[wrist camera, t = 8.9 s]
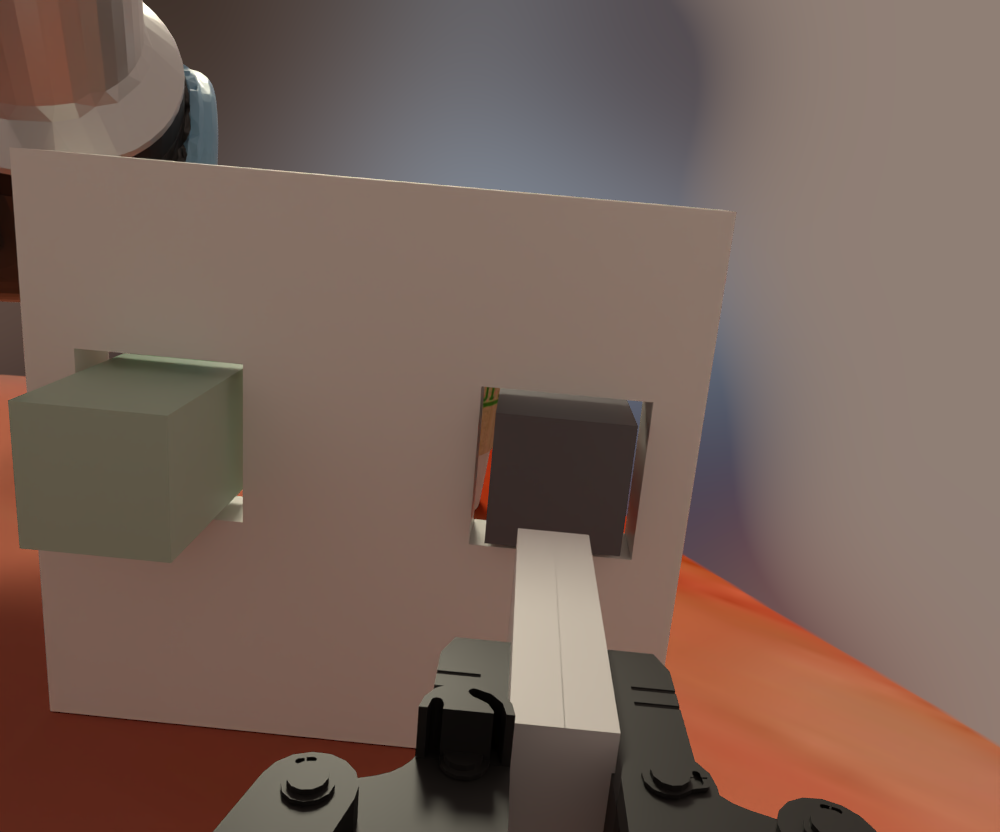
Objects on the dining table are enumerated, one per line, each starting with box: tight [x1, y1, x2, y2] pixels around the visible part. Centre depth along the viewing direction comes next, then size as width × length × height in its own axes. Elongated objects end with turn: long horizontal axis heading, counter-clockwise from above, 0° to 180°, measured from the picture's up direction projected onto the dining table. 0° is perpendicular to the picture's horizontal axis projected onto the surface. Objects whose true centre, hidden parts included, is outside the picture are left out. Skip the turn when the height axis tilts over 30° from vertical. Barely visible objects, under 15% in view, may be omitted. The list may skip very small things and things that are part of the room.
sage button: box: [8, 353, 243, 563], centre depth 24 cm, size 4×6×4 cm, turn 178°
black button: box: [484, 388, 638, 556], centre depth 27 cm, size 4×6×4 cm, turn 178°
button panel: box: [9, 147, 736, 748], centre depth 28 cm, size 20×6×18 cm, turn 88°
